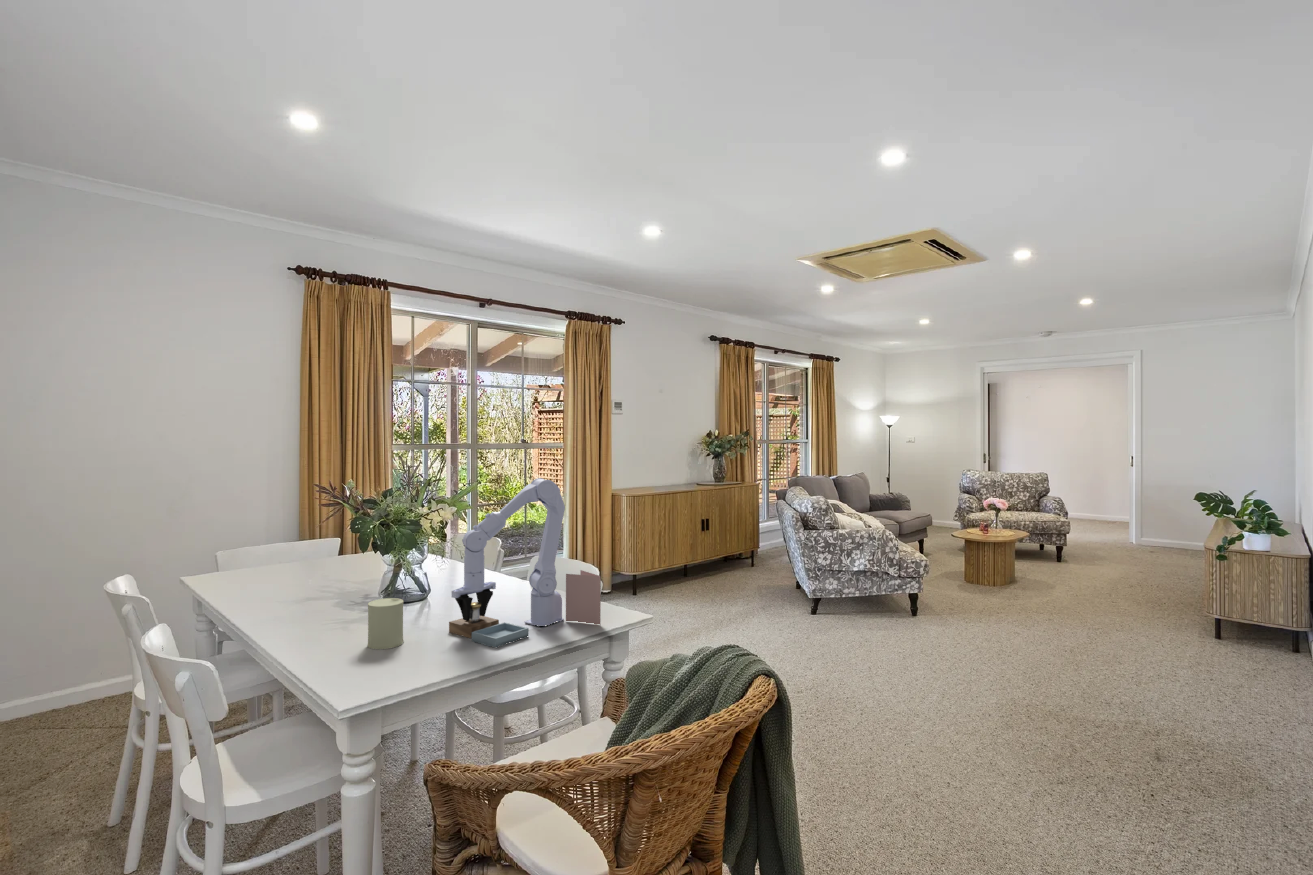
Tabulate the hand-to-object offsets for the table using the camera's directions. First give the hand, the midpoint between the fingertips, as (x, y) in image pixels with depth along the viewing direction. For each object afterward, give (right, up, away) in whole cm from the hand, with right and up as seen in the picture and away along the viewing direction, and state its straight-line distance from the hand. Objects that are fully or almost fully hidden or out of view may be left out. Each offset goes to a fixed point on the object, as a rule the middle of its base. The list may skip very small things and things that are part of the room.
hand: (474, 617), depth 191 cm
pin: (0, -4, 0) cm, 4 cm away
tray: (+10, -4, -7) cm, 13 cm away
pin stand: (0, -4, 0) cm, 4 cm away
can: (-21, -4, -12) cm, 25 cm away
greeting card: (+31, -4, +9) cm, 32 cm away
